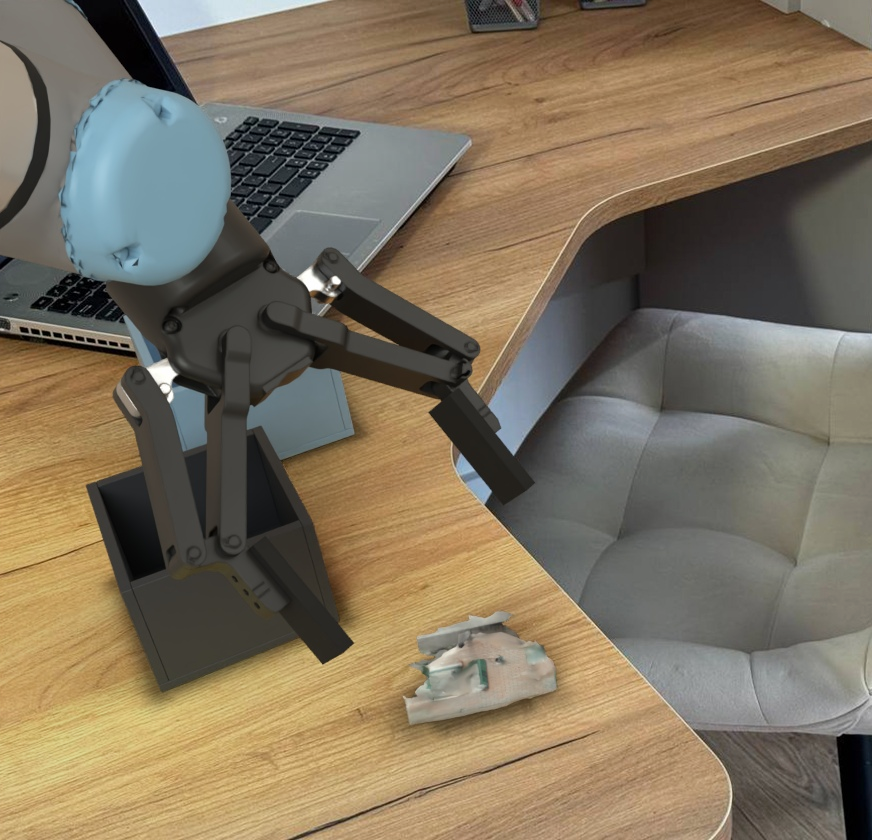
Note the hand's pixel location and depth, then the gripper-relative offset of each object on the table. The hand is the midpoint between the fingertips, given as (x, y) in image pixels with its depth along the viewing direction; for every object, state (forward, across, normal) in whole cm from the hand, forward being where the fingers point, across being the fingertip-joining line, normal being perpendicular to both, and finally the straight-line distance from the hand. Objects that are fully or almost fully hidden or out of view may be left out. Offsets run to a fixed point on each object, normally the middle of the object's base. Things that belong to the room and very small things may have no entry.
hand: (435, 569), depth 66 cm
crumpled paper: (+7, 0, -4) cm, 8 cm away
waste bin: (-5, +3, -16) cm, 17 cm away
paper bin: (-14, -10, -25) cm, 31 cm away
